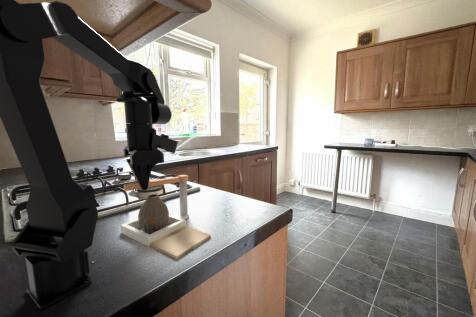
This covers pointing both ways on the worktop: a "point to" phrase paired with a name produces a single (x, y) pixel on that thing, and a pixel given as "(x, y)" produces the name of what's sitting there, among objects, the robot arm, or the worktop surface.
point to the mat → (180, 241)
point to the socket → (175, 221)
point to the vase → (153, 214)
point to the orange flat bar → (157, 182)
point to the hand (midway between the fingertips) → (143, 188)
